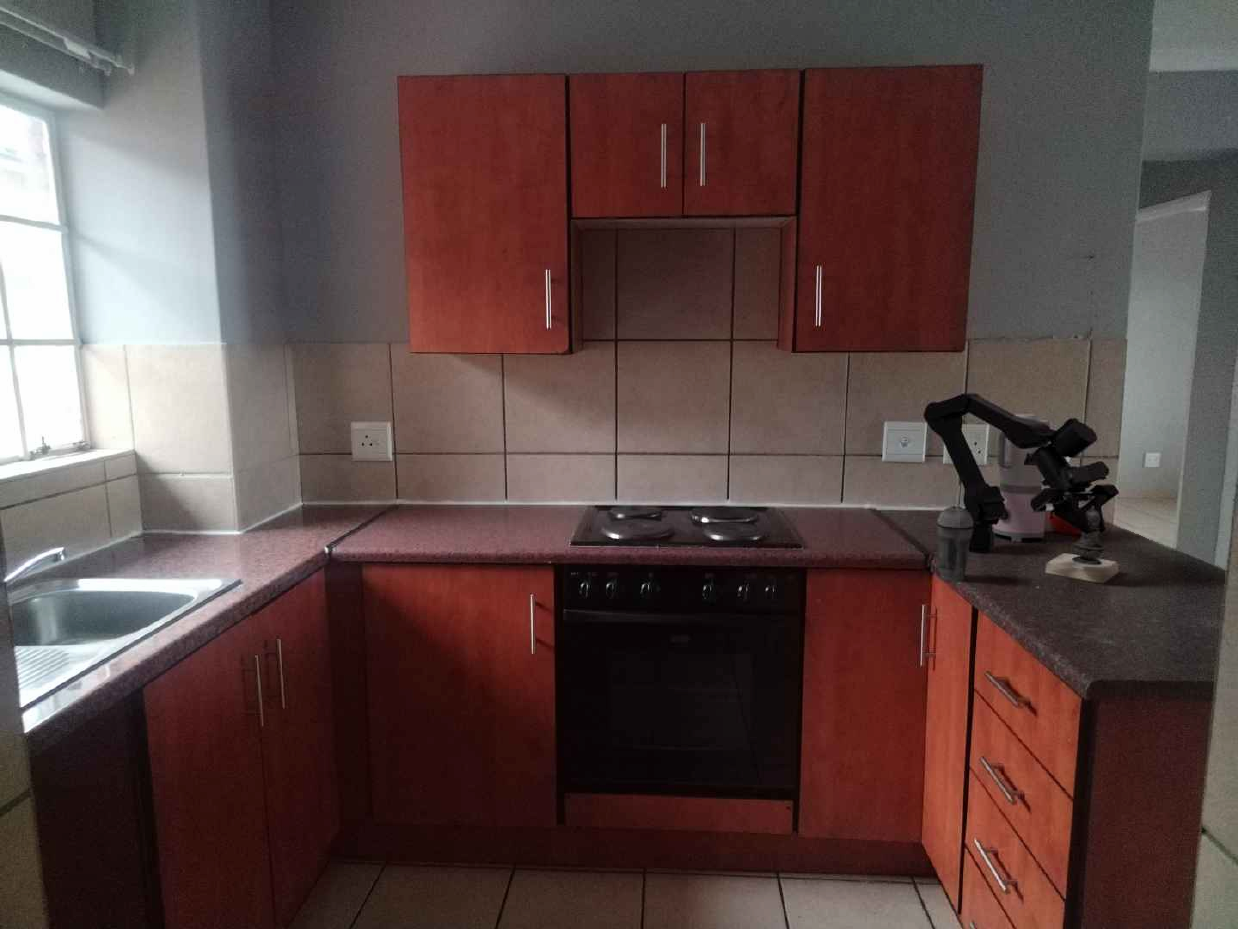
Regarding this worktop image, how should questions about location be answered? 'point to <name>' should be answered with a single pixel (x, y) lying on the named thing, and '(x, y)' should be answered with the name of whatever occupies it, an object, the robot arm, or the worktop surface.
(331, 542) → the worktop surface
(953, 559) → the beverage cup
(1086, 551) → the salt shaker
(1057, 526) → the red tomato
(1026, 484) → the blender
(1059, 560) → the wooden tray
